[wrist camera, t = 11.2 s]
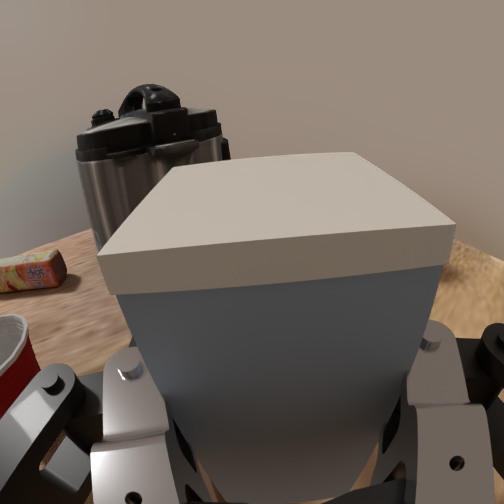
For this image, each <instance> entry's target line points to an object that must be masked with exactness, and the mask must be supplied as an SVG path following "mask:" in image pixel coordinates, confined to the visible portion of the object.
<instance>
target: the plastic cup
mask: <svg viewBox="0 0 504 504" xmlns="http://www.w3.org/2000/svg"><path fill="white" fill-rule="evenodd" d="M28 333H29V329H28V325H27V323H26V320H25V317H23V316H21V315H18V314H16V313H15V314H6V315H2V316H0V420H1V418H2V417H3V416H4V414H5V413H6V412H7V411H8V409H9V408H10V407H11V405H12V404H13V403H14V402H15V400H16V399H17V398H18V397H19V395H20V394H21V393H22V392H23V390H24V389H25V388H26V387H27V386H28V384H29V383H30V382H31V381H32V379H33V378H34V377H35V376H36V375H37V374H38V373H39V372H40V371H41V369H40V367H39V365H38V362H37V360H36V358H35V353H34V351H33V349H32V345H31V342H30V340H29V339H30V338H29V334H28Z"/></svg>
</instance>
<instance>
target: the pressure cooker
mask: <svg viewBox="0 0 504 504" xmlns="http://www.w3.org/2000/svg"><path fill="white" fill-rule="evenodd" d="M143 98H144V99H145V106H146V109H143V108H142V104H143ZM118 114H119V118H116V119H115V118H114V116H113V112H111V111H110V110H108V109H104V110H99V111H97V112H96V113H95V114H94V115H93V116H92V118H93V120H92V121H91V123H92V127H91V128H89V129H87V131H85V132H83V133H82V134H81V135H78V136H77V144H78V149H77V150H76V159H77V166H78V170H79V175H80V180H81V185H82V190H83V194H84V198H85V203H86V207H87V211H88V215H89V220H90V224H91V227H92V231H93V235H94V239H95V242H96V246H97V249H98V252H100V250H101V249H102V248H103V247H104V245H105V244H106V243H107V242H108V240H109V239H110V238H111V237H112V235H113V234H114V233H115V232H116V231H117V229H118V228H119V227H120V226H121V225H122V223H123V222H124V221H125V220H126V219H127V218H128V216H129V215H130V214H131V213H132V212H133V211H134V209H135V208H136V207H137V206H138V205H139V204H140V203H141V202H142V200H143V199H144V198H145V197H146V196H147V195H148V194H149V193H150V192H151V190H152V189H153V188H154V187H155V186H156V185H157V184H158V183H159V182H160V181H161V180H162V179H163V177H164V176H165V175H166V174H167V173H168V172H169V171H170V170H171V169H172V168H173V167H178V166H185V165H193V164H200V163H208V162H217V161H225V160H231V158H230V152H229V144H228V140H227V139H225V138H223V137H222V130H221V123H218V122H217V115H216V110H209V109H200V108H186V107H185V108H184V107H182V108H181V106H180V99H179V97H178V96H177V95H176V94H174V93H173V92H171V91H170V90H168V89H166V88H165V87H162V86H159V85H155V84H147V85H141V86H138V87H136V88H134V89H133V90H131V91H130V92H129V94H128V95H127V96H126V98H125V99H124V101H123V103H122V105H121V107H120V109H119V111H118Z"/></svg>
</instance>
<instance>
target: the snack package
mask: <svg viewBox="0 0 504 504" xmlns="http://www.w3.org/2000/svg"><path fill="white" fill-rule="evenodd" d="M66 274H67V268H66V265H65V262H64V260H63V257H62V255H61V253H60V252H59V251H58V250H50V251H45V252H40V253H32V254H26V255H20V256H15V257H10V258H4V259H0V293H4V292H12V291H20V290H28V289H38V288H49V287H59V286H60V285H61V284H62V283H63V281H64V279H65V277H66Z"/></svg>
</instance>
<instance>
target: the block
mask: <svg viewBox="0 0 504 504" xmlns="http://www.w3.org/2000/svg"><path fill="white" fill-rule="evenodd" d="M455 228H456V224H455V223H454V222H453V221H452V220H451V219H449V218H448V217H447V216H445V215H444V214H443V213H442V212H440V211H439V210H437V209H436V208H435V207H434V206H432V205H431V204H430V203H428V202H427V201H426V200H424V199H423V198H421V197H420V196H419V195H417V194H416V193H415V192H413V191H412V190H410V189H409V188H407V187H406V186H405V185H403V184H402V183H400V182H399V181H397V180H396V179H394V178H393V177H391V176H390V175H388V174H387V173H385V172H384V171H382V170H381V169H379V168H378V167H376V166H375V165H373V164H371V163H370V162H368V161H366V160H365V159H363V158H362V157H360V156H358V155H357V154H355V153H354V152H339V153H338V152H337V153H313V154H295V155H281V156H267V157H255V158H245V159H235V160H225V161H217V162H208V163H200V164H193V165H185V166H178V167H173V168H172V169H171V170H170V171H169V172H168V173H167V174H166V175H165V176H164V177H163V179H162V180H161V181H160V182H159V183H158V184H157V185H156V186H155V187H154V188H153V189H152V190H151V192H150V193H149V194H148V195H147V196H146V197H145V198H144V199H143V200H142V202H141V203H140V204H139V205H138V206H137V207H136V208H135V209H134V211H133V212H132V213H131V214H130V215H129V216H128V218H127V219H126V220H125V221H124V222H123V223H122V225H121V226H120V227H119V228H118V229H117V231H116V232H115V233H114V234H113V235H112V237H111V238H110V239H109V240H108V242H107V243H106V244H105V245H104V247H103V248H102V249H101V250H100V252H99V253H98V254H97V255H96V256H97V259H98V262H99V265H100V268H101V271H102V273H103V276H104V279H105V282H106V284H107V287H108V290H109V292H110V295H116V297H117V299H118V302H119V304H120V307H121V309H122V312H123V314H124V317H125V319H126V322H127V324H128V327H129V329H130V331H131V334H132V336H133V338H134V340H135V343H136V345H137V347H138V349H139V352H140V354H141V356H142V358H143V360H144V362H145V364H146V367H147V369H148V371H149V373H150V375H151V377H152V379H153V381H154V383H155V385H156V387H157V389H158V391H159V393H160V394H163V395H164V397H165V398H166V400H167V402H168V404H169V406H170V409H171V414H172V417H173V419H174V421H175V422H176V424H177V426H178V428H179V429H180V431H181V433H182V435H183V436H184V438H185V440H186V441H187V442H190V444H191V445H192V447H193V449H194V451H195V454H196V458H197V459H198V461H199V462H200V464H201V465H202V467H203V469H204V470H205V472H206V473H207V475H208V476H209V478H210V479H211V481H212V482H213V484H214V485H215V486H216V488H217V489H218V491H219V492H220V494H221V495H222V496H223V498H224V499H225V501H226V502H243V503H248V504H290V503H299V502H308V501H315V500H322V499H329V498H334V497H339V496H341V495H343V494H346V493H348V492H349V491H350V490H351V488H352V487H353V485H354V483H355V482H356V480H357V478H358V477H359V475H360V473H361V472H362V470H363V468H364V467H365V465H366V463H367V461H368V460H369V458H370V456H371V454H372V452H373V451H374V449H375V447H376V445H377V443H378V441H379V432H380V430H381V428H382V426H383V424H384V423H388V421H389V419H390V417H391V415H392V413H393V411H394V409H395V406H396V404H397V402H398V400H399V397H400V395H401V394H400V385H401V382H402V380H403V377H404V374H405V372H406V370H410V369H411V368H412V366H413V363H414V360H415V358H416V355H417V352H418V350H419V347H420V344H421V341H422V338H423V335H424V332H425V329H426V326H427V323H428V319H429V316H430V313H431V310H432V306H433V303H434V299H435V295H436V292H437V288H438V284H439V280H440V276H441V272H442V268H443V264H448V262H449V258H450V253H451V249H452V244H453V239H454V234H455Z"/></svg>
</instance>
